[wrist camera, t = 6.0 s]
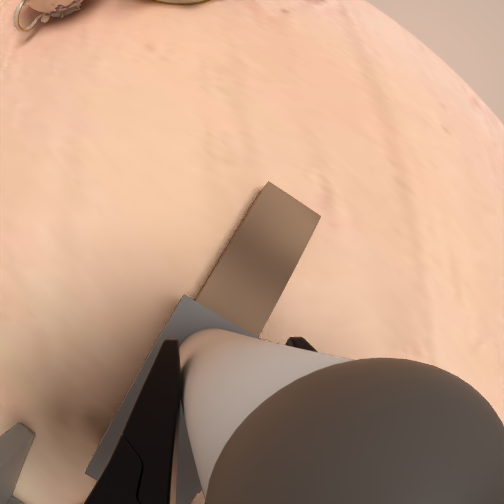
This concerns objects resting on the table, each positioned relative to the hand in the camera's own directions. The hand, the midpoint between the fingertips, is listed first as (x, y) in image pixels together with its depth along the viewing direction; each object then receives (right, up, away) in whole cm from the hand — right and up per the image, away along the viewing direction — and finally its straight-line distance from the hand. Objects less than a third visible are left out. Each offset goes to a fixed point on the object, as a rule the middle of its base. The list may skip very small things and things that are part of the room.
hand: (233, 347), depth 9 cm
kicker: (-3, -5, +6) cm, 9 cm away
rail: (0, +1, +9) cm, 9 cm away
